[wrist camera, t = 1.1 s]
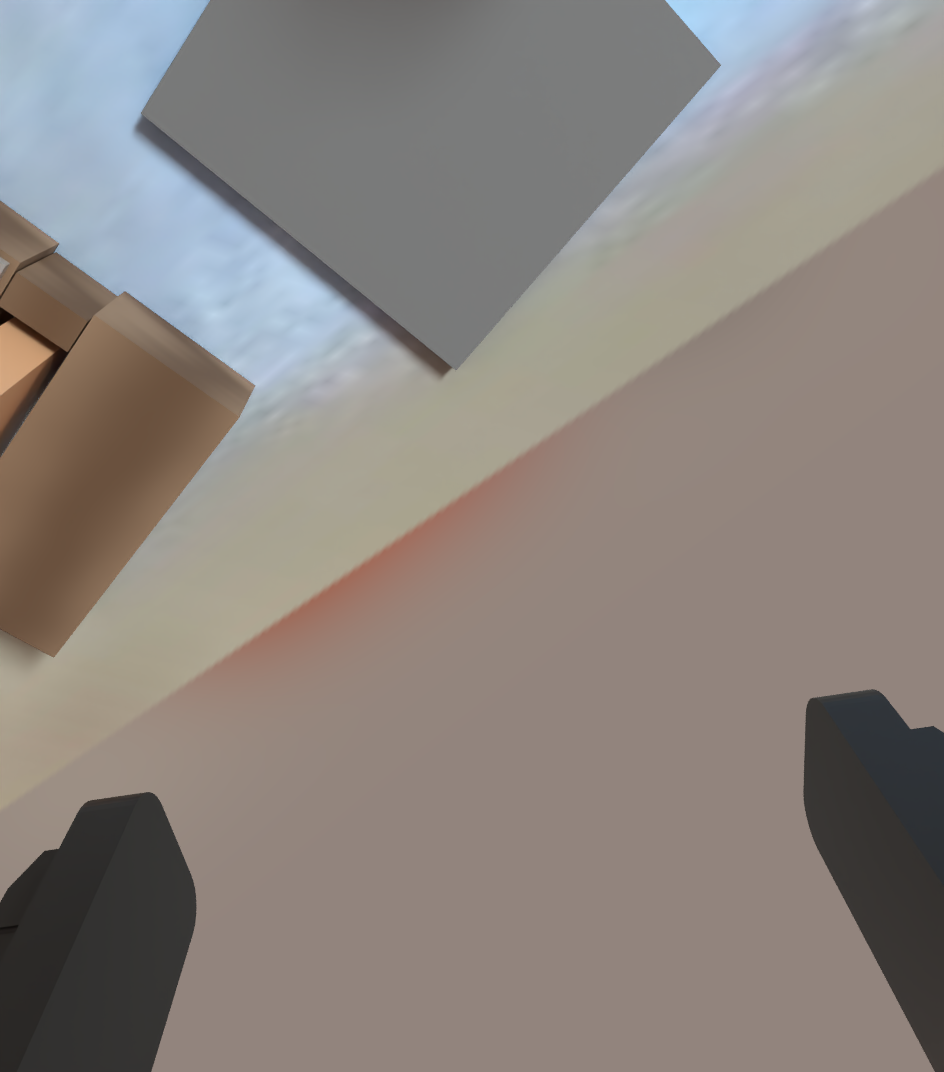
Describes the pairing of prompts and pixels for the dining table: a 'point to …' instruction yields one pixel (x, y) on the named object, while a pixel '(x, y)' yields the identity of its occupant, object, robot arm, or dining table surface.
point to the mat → (430, 134)
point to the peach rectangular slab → (23, 373)
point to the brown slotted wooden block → (94, 436)
